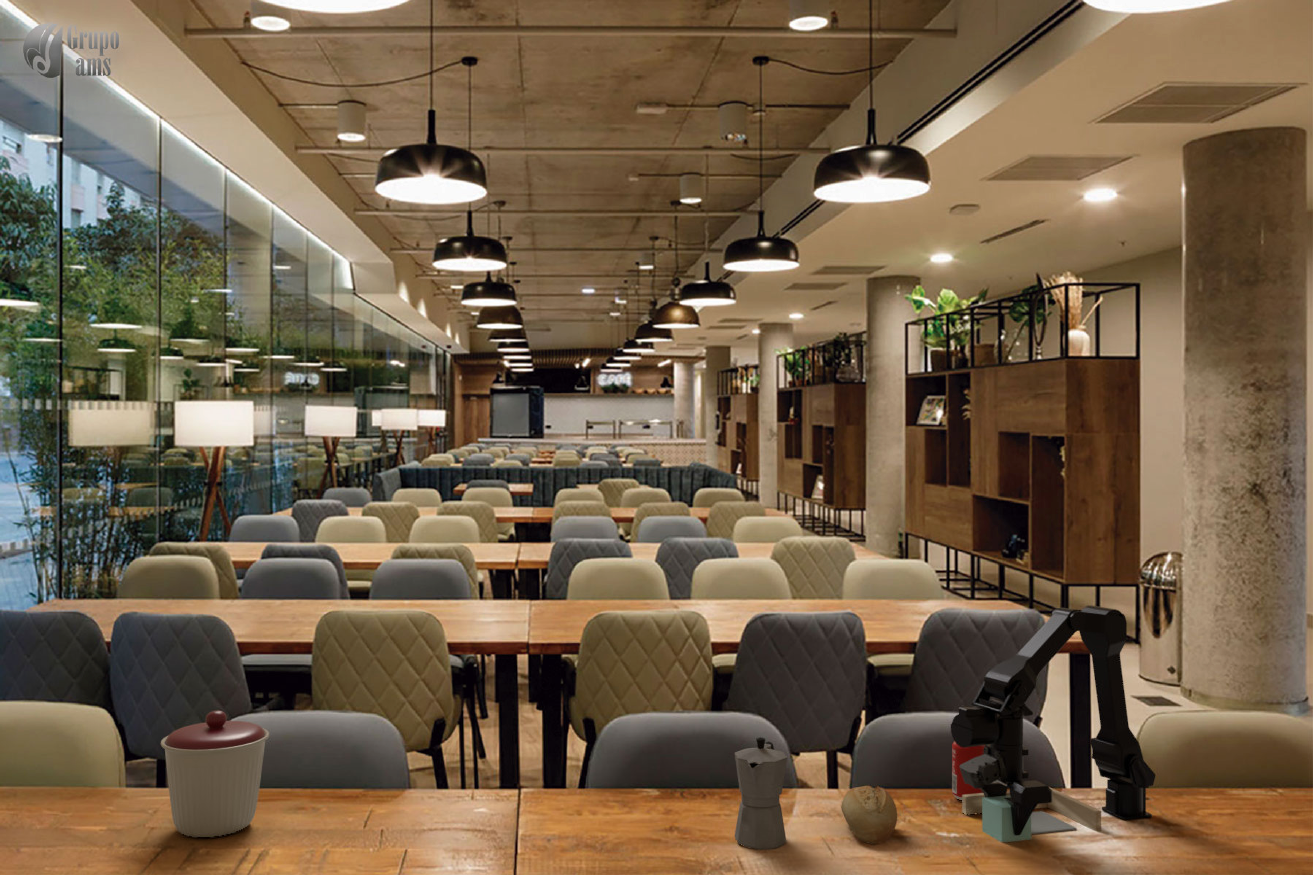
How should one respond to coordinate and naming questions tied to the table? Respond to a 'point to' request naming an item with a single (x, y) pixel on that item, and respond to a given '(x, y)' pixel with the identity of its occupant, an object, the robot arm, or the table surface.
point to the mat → (1047, 823)
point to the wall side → (974, 803)
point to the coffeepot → (760, 796)
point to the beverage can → (958, 758)
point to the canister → (214, 775)
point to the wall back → (1075, 810)
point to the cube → (1001, 820)
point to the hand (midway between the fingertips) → (1006, 828)
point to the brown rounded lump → (870, 813)
